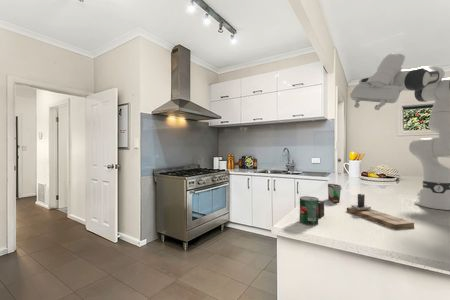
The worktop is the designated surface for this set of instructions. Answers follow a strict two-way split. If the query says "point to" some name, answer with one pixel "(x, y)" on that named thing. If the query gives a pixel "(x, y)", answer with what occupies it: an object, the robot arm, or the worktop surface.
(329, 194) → the food container
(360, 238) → the worktop surface
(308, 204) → the canned tomato
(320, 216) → the box
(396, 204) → the worktop surface
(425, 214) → the worktop surface
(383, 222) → the brown wooden board
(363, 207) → the slider
